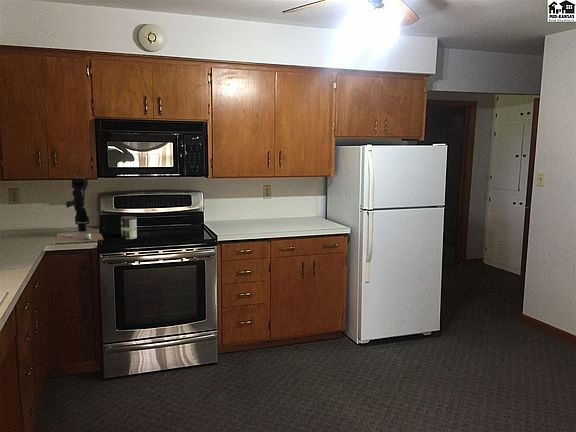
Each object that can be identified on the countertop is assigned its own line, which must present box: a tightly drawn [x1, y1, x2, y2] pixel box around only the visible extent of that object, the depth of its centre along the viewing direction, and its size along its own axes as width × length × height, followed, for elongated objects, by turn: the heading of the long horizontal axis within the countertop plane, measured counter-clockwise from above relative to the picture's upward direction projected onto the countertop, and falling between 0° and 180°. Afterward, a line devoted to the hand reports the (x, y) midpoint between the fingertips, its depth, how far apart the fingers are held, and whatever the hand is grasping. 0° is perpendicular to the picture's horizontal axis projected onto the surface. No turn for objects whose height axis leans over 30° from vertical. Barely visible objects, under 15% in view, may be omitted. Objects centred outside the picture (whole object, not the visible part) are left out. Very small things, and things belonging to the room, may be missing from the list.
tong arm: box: [64, 233, 93, 241], centre depth 323 cm, size 22×3×4 cm, turn 70°
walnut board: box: [55, 233, 104, 245], centre depth 325 cm, size 20×28×2 cm
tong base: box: [56, 232, 91, 237], centre depth 330 cm, size 5×20×2 cm, turn 115°
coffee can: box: [120, 215, 138, 240], centre depth 335 cm, size 10×10×14 cm
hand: (79, 219), depth 334 cm, fingers closed
